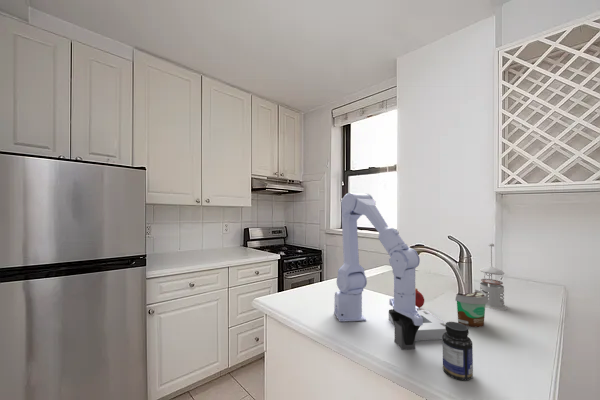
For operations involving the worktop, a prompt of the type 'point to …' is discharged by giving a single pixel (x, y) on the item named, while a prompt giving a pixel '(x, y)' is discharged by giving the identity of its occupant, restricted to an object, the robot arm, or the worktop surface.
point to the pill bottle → (457, 351)
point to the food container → (471, 308)
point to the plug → (401, 337)
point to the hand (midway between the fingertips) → (404, 340)
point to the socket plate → (428, 326)
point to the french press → (493, 287)
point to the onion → (418, 298)
